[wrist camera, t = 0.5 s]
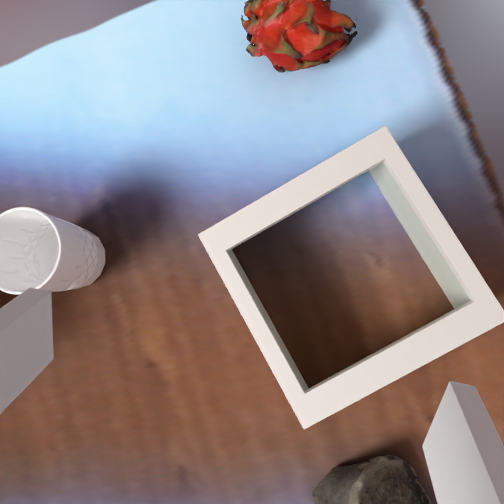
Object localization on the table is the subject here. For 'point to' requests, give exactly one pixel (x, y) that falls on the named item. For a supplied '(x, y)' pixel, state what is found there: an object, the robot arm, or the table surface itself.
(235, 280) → the box
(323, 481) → the fossil
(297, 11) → the dragon fruit
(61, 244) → the white cup
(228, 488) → the table surface
